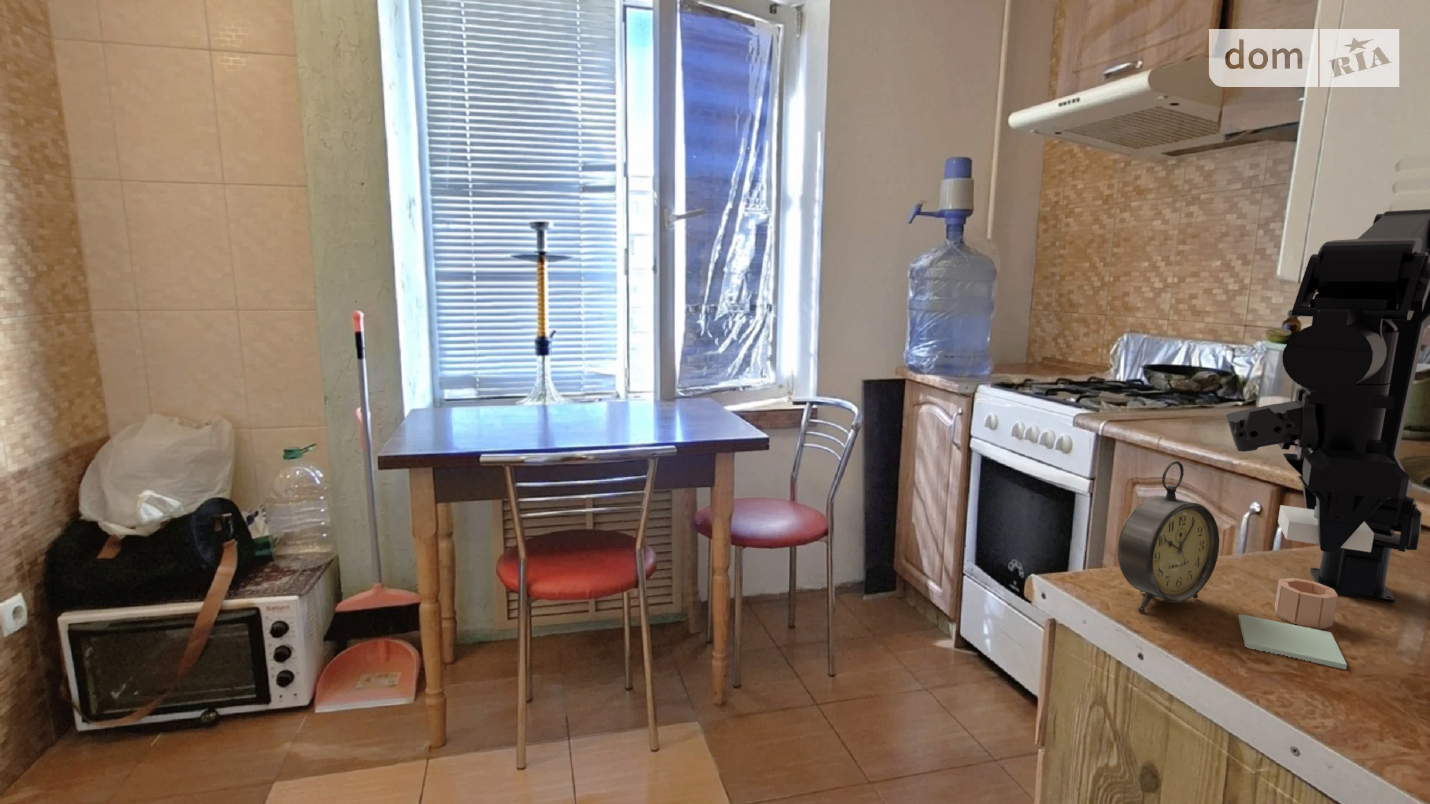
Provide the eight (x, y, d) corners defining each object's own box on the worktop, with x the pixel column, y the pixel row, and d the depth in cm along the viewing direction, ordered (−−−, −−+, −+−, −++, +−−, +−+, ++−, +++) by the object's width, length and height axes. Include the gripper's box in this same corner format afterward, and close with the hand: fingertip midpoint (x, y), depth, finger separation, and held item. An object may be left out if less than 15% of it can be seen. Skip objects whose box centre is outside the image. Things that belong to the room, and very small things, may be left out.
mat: (1238, 618, 75) (1238, 613, 75) (1330, 636, 71) (1331, 632, 71) (1245, 647, 69) (1246, 642, 69) (1346, 669, 65) (1346, 664, 65)
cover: (1277, 522, 71) (1281, 495, 71) (1356, 533, 68) (1360, 505, 68) (1286, 539, 67) (1290, 511, 66) (1370, 552, 64) (1375, 522, 63)
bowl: (1272, 604, 78) (1276, 575, 77) (1326, 615, 76) (1331, 584, 75) (1278, 622, 74) (1283, 590, 73) (1335, 633, 72) (1340, 601, 71)
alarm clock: (1146, 621, 74) (1163, 472, 71) (1101, 599, 79) (1116, 459, 76) (1215, 603, 78) (1234, 461, 75) (1169, 584, 83) (1185, 450, 80)
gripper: (1230, 363, 77) (1212, 501, 79) (1249, 387, 61) (1226, 557, 64) (1366, 370, 71) (1341, 518, 74) (1426, 398, 55) (1392, 585, 58)
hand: (1321, 541), depth 67 cm, fingers closed on cover, 5 cm apart
